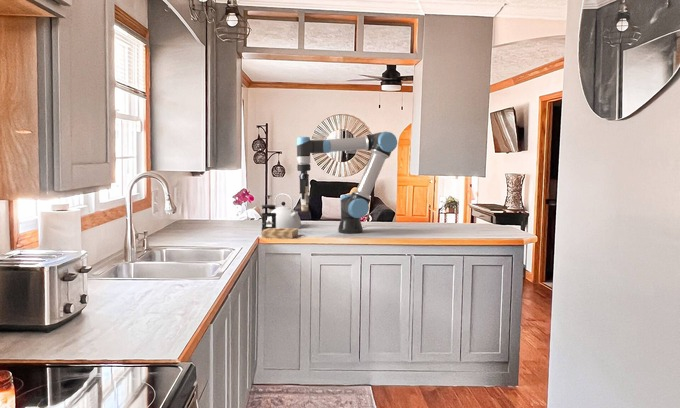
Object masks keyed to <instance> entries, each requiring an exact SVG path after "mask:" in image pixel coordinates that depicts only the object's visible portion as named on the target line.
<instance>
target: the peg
mask: <svg viewBox="0 0 680 408" xmlns="http://www.w3.org/2000/svg"><path fill="white" fill-rule="evenodd" d="M305 193H306V205H301V202H300V205H301V206H300V207H301V212H308V211H309V204H310V201H309V199H310V195H309V192H308V186H305ZM299 194H300V193H299ZM300 196H301V194H300Z"/></svg>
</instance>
